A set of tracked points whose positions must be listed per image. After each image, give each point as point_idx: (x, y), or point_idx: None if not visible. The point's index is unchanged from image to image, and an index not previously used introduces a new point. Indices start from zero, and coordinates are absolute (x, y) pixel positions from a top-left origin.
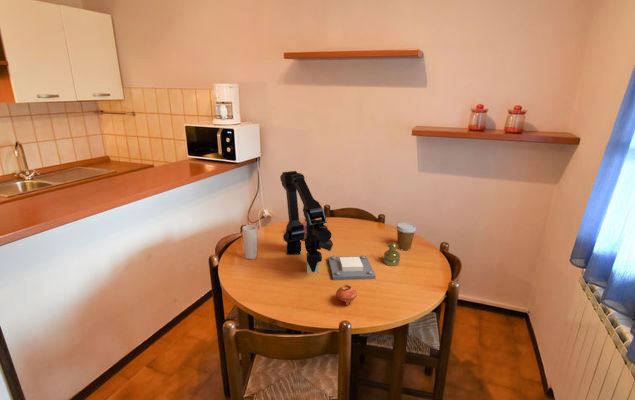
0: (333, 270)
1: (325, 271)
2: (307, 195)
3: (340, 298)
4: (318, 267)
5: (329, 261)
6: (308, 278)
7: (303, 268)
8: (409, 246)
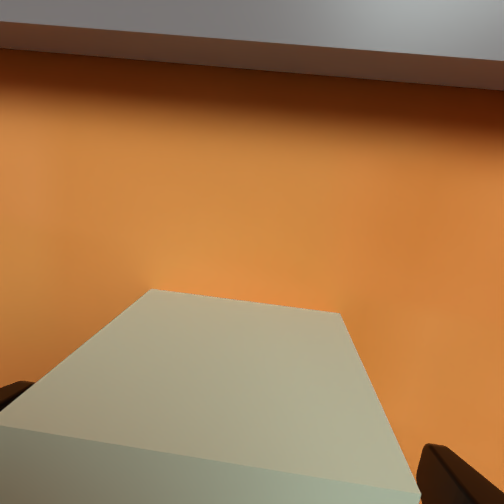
0: (493, 7)
1: (327, 189)
2: None
3: None
4: (363, 374)
5: (26, 22)
6: None
7: None
8: None
